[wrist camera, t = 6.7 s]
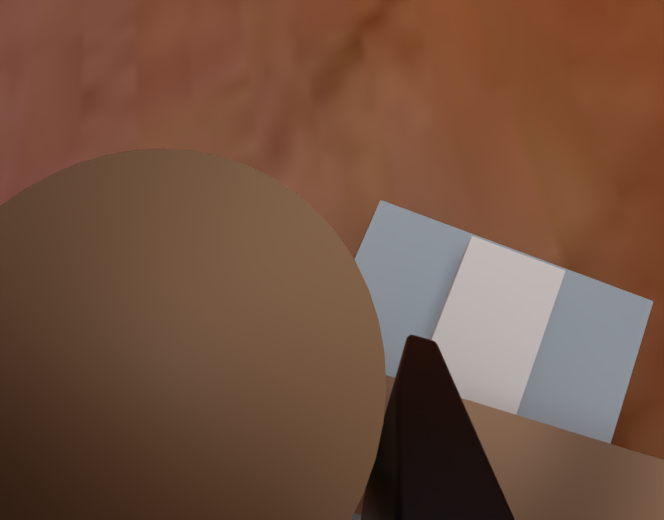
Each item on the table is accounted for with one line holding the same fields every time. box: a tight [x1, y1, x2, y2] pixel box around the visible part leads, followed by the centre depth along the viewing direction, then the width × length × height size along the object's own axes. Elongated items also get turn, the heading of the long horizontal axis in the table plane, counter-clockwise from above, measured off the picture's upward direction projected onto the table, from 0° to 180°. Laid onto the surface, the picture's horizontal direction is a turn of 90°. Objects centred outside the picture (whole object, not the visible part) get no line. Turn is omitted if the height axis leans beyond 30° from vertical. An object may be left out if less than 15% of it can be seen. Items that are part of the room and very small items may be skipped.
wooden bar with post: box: [0, 149, 664, 520], centre depth 9 cm, size 20×3×12 cm, turn 73°
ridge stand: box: [351, 200, 653, 520], centre depth 19 cm, size 16×10×4 cm, turn 157°
